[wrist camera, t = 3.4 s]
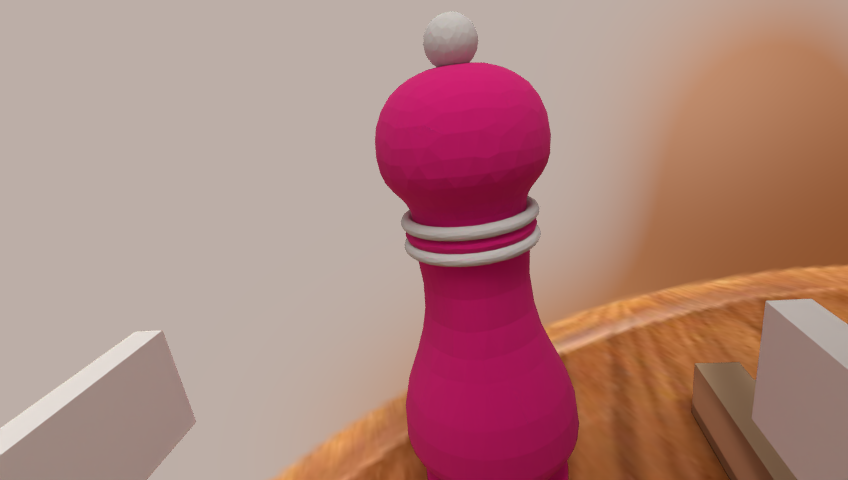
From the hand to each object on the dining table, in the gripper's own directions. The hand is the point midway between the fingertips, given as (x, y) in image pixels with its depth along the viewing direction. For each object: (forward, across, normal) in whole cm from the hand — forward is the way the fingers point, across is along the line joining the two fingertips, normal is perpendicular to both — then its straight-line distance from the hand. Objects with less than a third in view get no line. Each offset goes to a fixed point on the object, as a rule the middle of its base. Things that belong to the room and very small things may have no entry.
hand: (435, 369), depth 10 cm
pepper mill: (+8, 0, -12) cm, 14 cm away
